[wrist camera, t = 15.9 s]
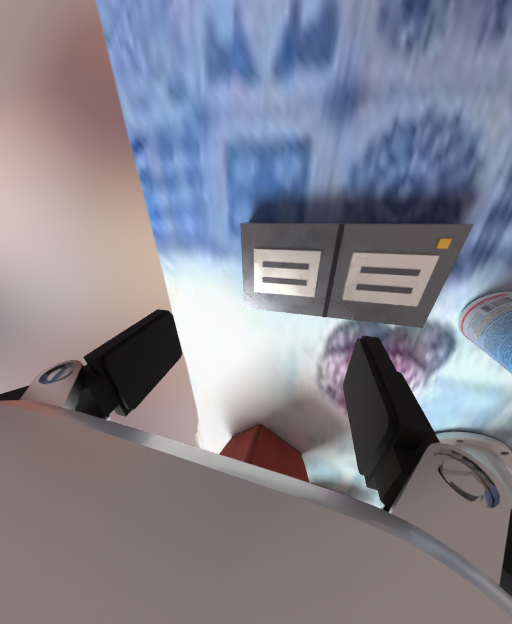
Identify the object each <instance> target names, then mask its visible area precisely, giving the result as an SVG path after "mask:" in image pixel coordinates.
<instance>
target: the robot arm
mask: <svg viewBox="0 0 512 624" xmlns="http://www.w3.org/2000/svg"><path fill="white" fill-rule="evenodd" d="M181 355H182V350H181V346H180V342H179V338H178V334H177V330H176V326H175V322H174V318H173V315H172V314H171V313H170V312H169V311H167V310H156V311H154V312H153V313H151V314H150V315H148V316H147V317H145V318H143V319H142V320H140V321H139V322H137V323H136V324H134V325H132V326H131V327H129V328H128V329H126V330H125V331H123V332H122V333H120V334H118V335H117V336H115V337H114V338H112V339H111V340H109V341H107V342H106V343H104V344H103V345H102V346H100V347H98V348H97V349H95V350H93V351H92V352H90V353H89V354H87V355H86V356H84V359H85V360H86V362H87V365H85V366H83V364H82V363H81V361H78V360H70V361H65V362H62V363H58V364H56V365H54V366H52V367H50V368H48V369H46V370H44V371H43V372H42V373H40V374H39V375H38V376H37V377H36V378H35V379H34V381H33V382H32V383H31V385H29V386H26V387H23V388H19V389H16V390H13V391H9V392H6V393H3V394H0V624H512V451H511V450H510V449H509V448H508V446H506V445H505V444H503V443H502V442H500V441H498V440H496V439H494V438H491V437H488V436H485V435H481V434H476V433H469V432H443V433H437V434H435V432H434V430H433V429H432V427H431V425H430V423H429V421H428V420H427V418H426V416H425V414H424V412H423V411H422V409H421V407H420V405H419V404H418V402H417V400H416V398H415V396H414V395H413V393H412V391H411V389H410V387H409V386H408V384H407V382H406V380H405V378H404V377H403V375H402V374H401V373H399V372H397V371H396V369H395V367H394V365H393V363H392V361H391V359H390V358H389V356H388V354H387V352H386V350H385V348H384V346H383V345H382V343H381V341H380V339H379V338H377V337H369V336H362V338H361V339H359V338H358V339H357V340H356V343H355V347H354V350H353V353H352V356H351V360H350V363H349V366H348V369H347V373H346V376H345V379H344V384H343V389H344V395H345V400H346V406H347V411H348V416H349V422H350V427H351V433H352V438H353V444H354V449H355V455H356V460H357V466H358V470H359V473H360V474H361V475H364V476H365V481H366V486H367V487H368V488H371V489H375V490H378V493H379V497H380V500H381V502H382V503H383V506H382V508H381V509H380V508H378V507H375V506H372V505H370V504H367V503H365V502H362V501H360V500H357V499H354V498H352V497H349V496H347V495H344V494H341V493H338V492H335V491H332V490H329V489H326V488H323V487H320V486H317V485H314V484H311V483H308V482H305V481H302V480H299V479H296V478H293V477H290V476H286V475H283V474H280V473H277V472H274V471H270V470H267V469H264V468H261V467H258V466H254V465H251V464H248V463H245V462H242V461H238V460H235V459H232V458H229V457H226V456H222V455H219V454H216V453H213V452H210V451H206V450H203V449H200V448H197V447H193V446H190V445H187V444H184V443H180V442H177V441H174V440H171V439H167V438H164V437H161V436H158V435H154V434H151V433H148V432H144V431H141V430H138V429H135V428H131V427H128V426H124V425H121V424H118V423H115V422H111V421H110V417H111V412H112V411H113V410H115V412H116V413H117V414H119V415H122V416H127V415H128V413H130V412H131V410H133V409H135V408H136V407H137V406H138V405H139V404H140V403H141V401H143V399H144V398H145V397H146V396H147V395H148V394H149V392H151V390H152V389H153V388H154V387H155V386H156V385H157V383H159V381H160V380H161V379H162V378H163V377H164V376H165V375H166V374H167V372H168V371H169V370H170V369H171V368H172V367H173V366H174V365H175V363H176V362H177V361H178V360H179V359H180V358H181Z"/></svg>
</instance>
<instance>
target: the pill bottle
mask: <svg viewBox="0 0 512 624" xmlns="http://www.w3.org/2000/svg"><path fill="white" fill-rule="evenodd" d="M459 329H460V331H461V333H462V334H463V335H464V336H465V337H466V338H468V339H469V340H470V341H471V342H473V343H474V344H475V345H477V346H478V347H479V348H480V349H482V350H483V351H484V352H485V353H487V354H488V355H489V356H490V357H492V358H493V359H494V360H495V361H497V362H498V363H499V364H501V365H502V366H503V367H504V368H505V369H507V370H508V371H509V372H510V373H512V292H498V293H493V294H489V295H486V296H484V297H481V298H479V299H477V300H475V301H474V302H472V303H471V304H469V305H468V306H467V307H466V308H465V309H464V310H463V312H462V313H461V315H460V318H459Z"/></svg>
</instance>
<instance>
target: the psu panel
mask: <svg viewBox="0 0 512 624" xmlns="http://www.w3.org/2000/svg"><path fill="white" fill-rule="evenodd" d="M472 226H473V225H472V224H460V223H389V222H246V223H241V245H242V268H243V292H244V308H251V309H259V310H268V311H277V312H286V313H295V314H304V315H313V316H322V317H331V318H340V319H349V320H358V321H367V322H376V323H385V324H393V325H402V326H411V327H420V328H423V326H424V324H425V322H426V320H427V318H428V316H429V314H430V312H431V310H432V308H433V306H434V304H435V302H436V300H437V298H438V295H439V293H440V291H441V289H442V287H443V285H444V283H445V281H446V279H447V277H448V275H449V273H450V271H451V269H452V267H453V265H454V263H455V261H456V259H457V257H458V255H459V253H460V251H461V249H462V247H463V245H464V243H465V241H466V239H467V236H468V234H469V232H470V230H471V228H472Z"/></svg>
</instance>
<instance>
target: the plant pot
mask: <svg viewBox="0 0 512 624" xmlns="http://www.w3.org/2000/svg"><path fill="white" fill-rule="evenodd" d="M219 455H222V456H226V457H229V458H232V459H235V460H238V461H242V462H245V463H248V464H251V465H254V466H258V467H261V468H264V469H267V470H270V471H274V472H277V473H280V474H283V475H286V476H290V477H293V478H296V479H299V480H302V481H305V482H308V483H309V479H308V476H307V472H306V468H305V465H304V461H303V458H302V455H301V454H300V453H299V452H297V451H296V450H295V449H293V448H292V447H291V446H289V445H288V444H287V443H285V442H284V441H283V440H281V439H280V438H279V437H277V436H276V435H275V434H273V433H272V432H271V431H269V430H268V429H266V428H265V427H264V426H262V425H257V426H255V427H253V428H251V429H249V430H247V431H245V432H243V433H241V434H239V435H237V436H235V437H233V438H231V439H230V441H229V442H228V443H227V444H226V446H225V447H224V448H223V450H222V451H221V453H220V454H219Z"/></svg>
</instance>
